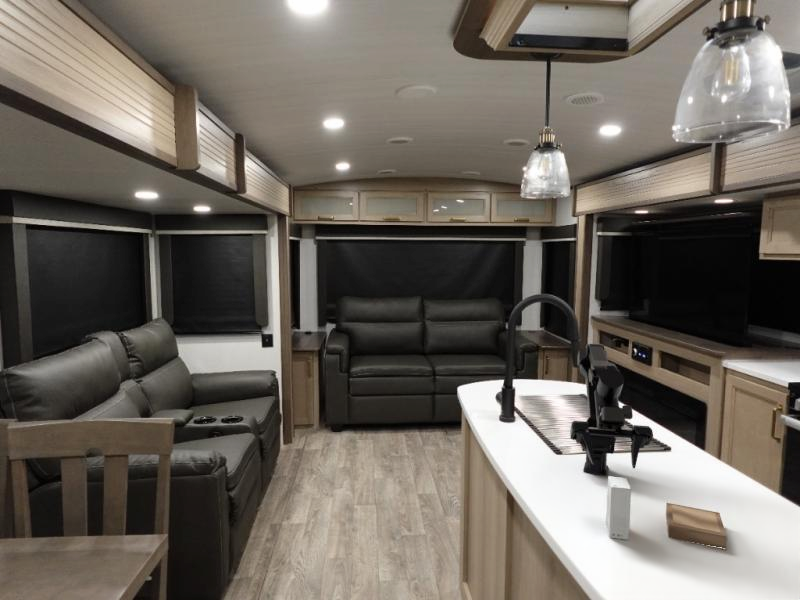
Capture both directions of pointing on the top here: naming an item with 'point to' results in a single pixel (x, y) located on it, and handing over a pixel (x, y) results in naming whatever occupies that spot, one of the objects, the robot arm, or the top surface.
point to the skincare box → (618, 507)
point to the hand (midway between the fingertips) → (613, 465)
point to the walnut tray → (695, 525)
